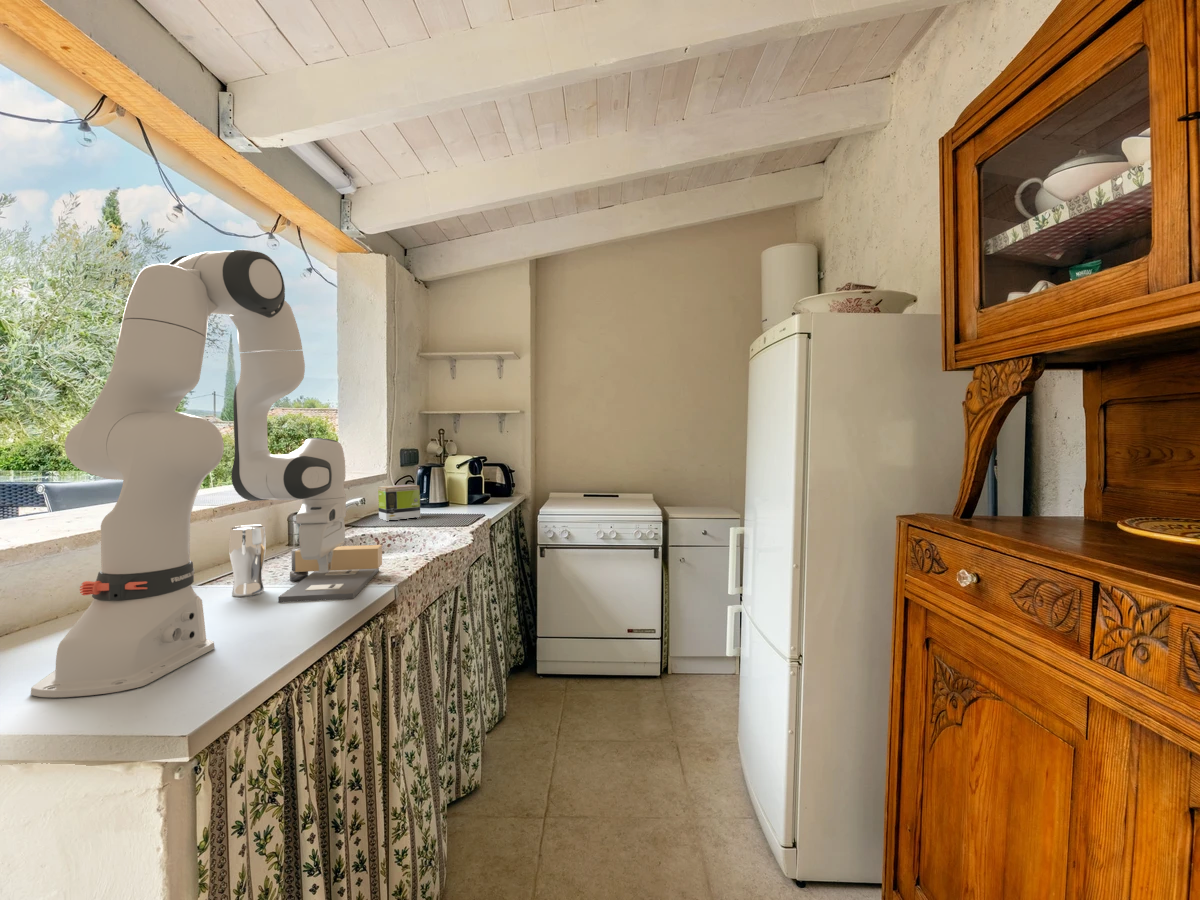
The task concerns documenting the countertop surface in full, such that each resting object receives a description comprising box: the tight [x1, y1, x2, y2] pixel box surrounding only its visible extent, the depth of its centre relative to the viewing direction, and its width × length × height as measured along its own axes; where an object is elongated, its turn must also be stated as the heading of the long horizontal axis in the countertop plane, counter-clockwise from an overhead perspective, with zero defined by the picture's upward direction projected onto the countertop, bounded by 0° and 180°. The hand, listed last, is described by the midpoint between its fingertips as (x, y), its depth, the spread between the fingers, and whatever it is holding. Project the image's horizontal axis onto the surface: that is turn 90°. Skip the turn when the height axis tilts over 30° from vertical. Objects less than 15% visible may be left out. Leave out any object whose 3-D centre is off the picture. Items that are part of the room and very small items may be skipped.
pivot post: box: [289, 570, 309, 583], centre depth 137 cm, size 4×4×2 cm
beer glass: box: [228, 524, 267, 598], centre depth 124 cm, size 7×7×15 cm
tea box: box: [377, 484, 421, 522], centre depth 241 cm, size 15×10×15 cm
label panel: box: [277, 567, 380, 603], centre depth 132 cm, size 26×15×2 cm, turn 10°
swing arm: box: [290, 544, 383, 572], centre depth 138 cm, size 5×21×5 cm, turn 100°
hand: (325, 571), depth 125 cm, fingers closed
